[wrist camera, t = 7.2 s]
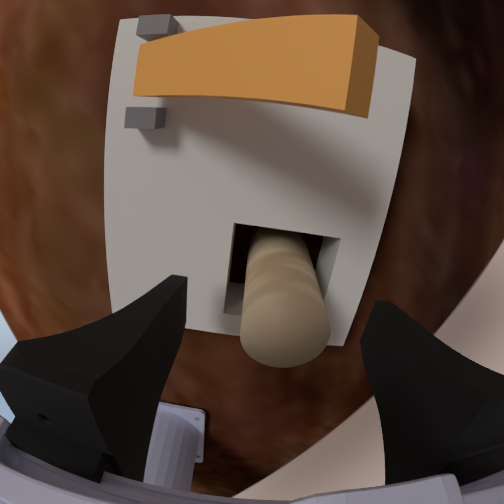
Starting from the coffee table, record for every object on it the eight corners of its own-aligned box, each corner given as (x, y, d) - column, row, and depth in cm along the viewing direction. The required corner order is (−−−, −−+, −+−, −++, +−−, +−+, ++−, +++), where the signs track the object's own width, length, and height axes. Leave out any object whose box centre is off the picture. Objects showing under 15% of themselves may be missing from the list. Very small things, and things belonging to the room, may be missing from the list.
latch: (367, 118, 6) (344, 110, 5) (160, 97, 10) (132, 96, 10) (379, 36, 5) (357, 15, 4) (167, 48, 10) (139, 44, 9)
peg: (311, 227, 16) (342, 304, 10) (299, 278, 17) (316, 371, 11) (253, 217, 16) (247, 291, 9) (244, 269, 17) (234, 362, 11)
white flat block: (333, 312, 18) (347, 362, 14) (131, 285, 18) (103, 327, 14) (389, 66, 12) (429, 54, 8) (144, 34, 12) (107, 12, 8)
